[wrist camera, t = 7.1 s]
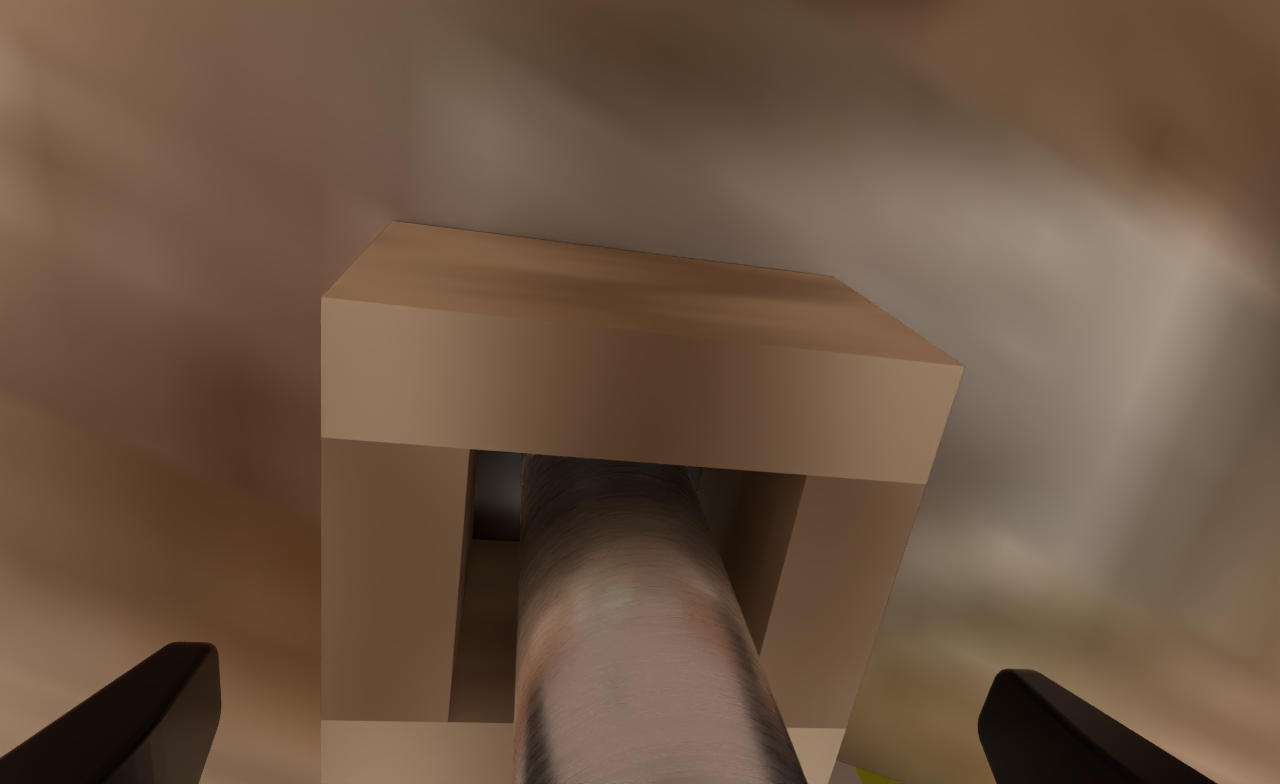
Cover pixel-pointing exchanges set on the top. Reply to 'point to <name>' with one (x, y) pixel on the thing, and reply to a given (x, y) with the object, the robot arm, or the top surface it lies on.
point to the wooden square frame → (600, 429)
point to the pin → (633, 637)
